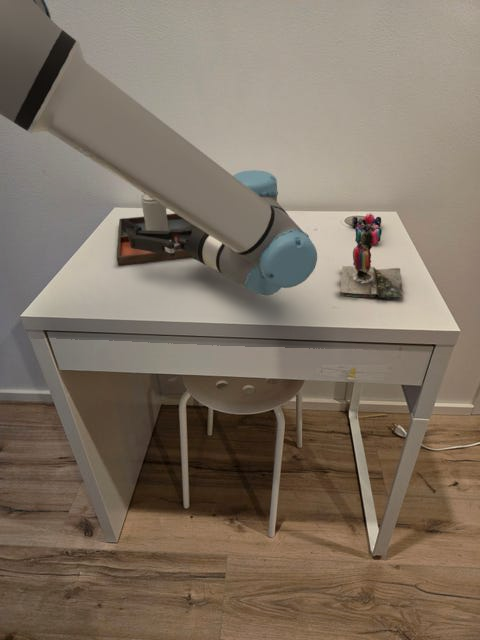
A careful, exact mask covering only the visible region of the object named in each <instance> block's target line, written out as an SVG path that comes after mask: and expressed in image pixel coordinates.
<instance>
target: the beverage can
mask: <svg viewBox="0 0 480 640" xmlns="http://www.w3.org/2000/svg"><path fill="white" fill-rule="evenodd" d="M140 198H141V199H140V202H141V207H142V213H143V217H144V219H145V225H146V230H148V231H169V228H168V220H167V214H168V213H167V208H166V207H165V206H163V205H162V204H160V203H159V202H157V201H155V200H154V199H152V198H151V197H149V196H148V195H146V194H144V193H143V194H142V195H141V197H140Z"/></svg>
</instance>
